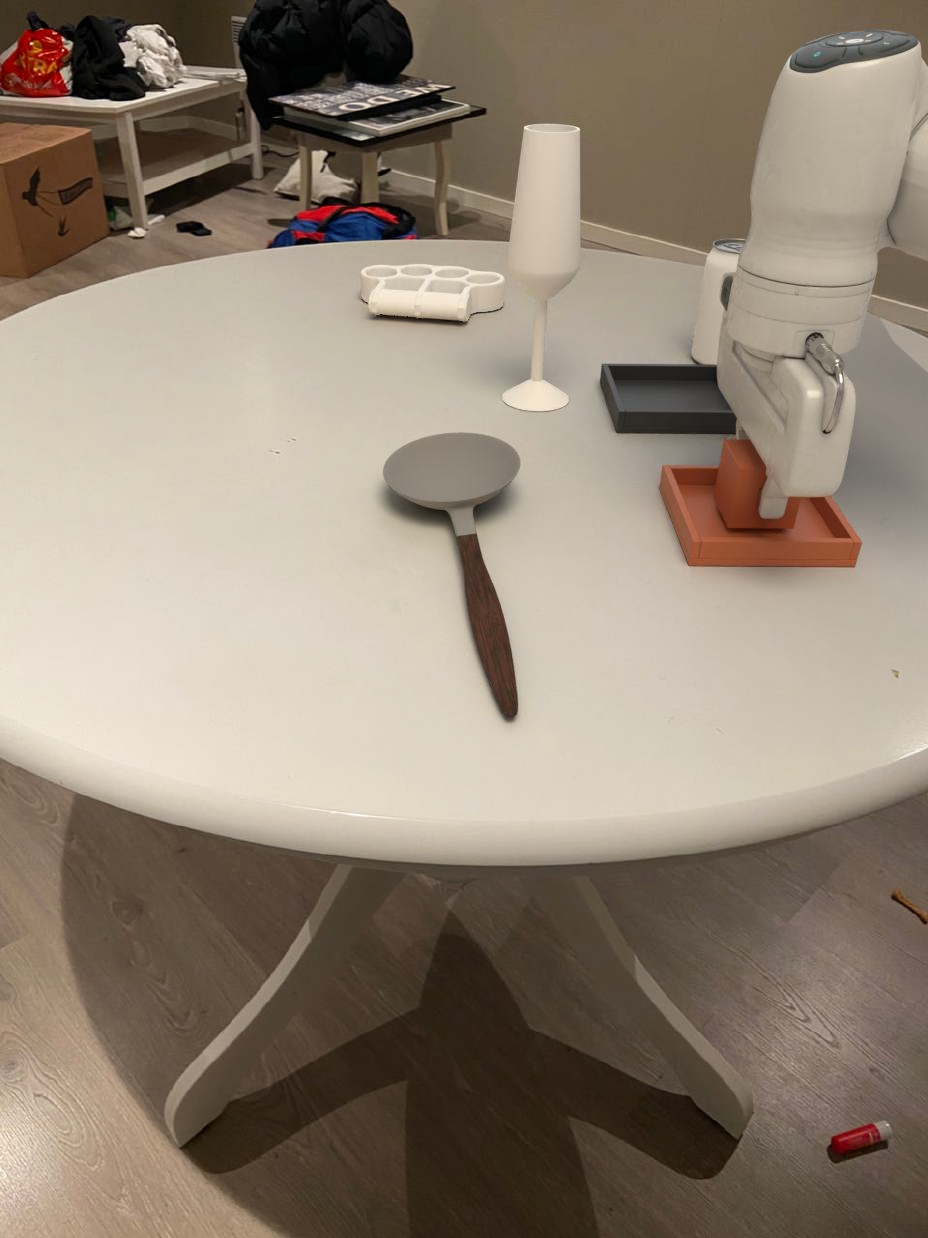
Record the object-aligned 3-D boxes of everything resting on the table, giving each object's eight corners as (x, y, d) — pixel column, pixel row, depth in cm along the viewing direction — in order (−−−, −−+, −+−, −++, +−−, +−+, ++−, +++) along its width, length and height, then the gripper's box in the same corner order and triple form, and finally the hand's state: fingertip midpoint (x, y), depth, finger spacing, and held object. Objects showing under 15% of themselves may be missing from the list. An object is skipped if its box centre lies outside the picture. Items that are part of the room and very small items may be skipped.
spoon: (509, 456, 82) (507, 425, 80) (604, 724, 56) (605, 686, 54) (383, 472, 81) (378, 441, 79) (420, 751, 55) (415, 714, 54)
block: (775, 497, 76) (788, 439, 73) (793, 529, 72) (808, 468, 69) (712, 497, 76) (723, 438, 73) (727, 528, 72) (739, 468, 69)
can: (714, 374, 100) (734, 256, 93) (678, 354, 105) (695, 240, 98) (763, 366, 103) (787, 250, 96) (726, 346, 107) (746, 234, 100)
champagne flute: (574, 410, 92) (598, 134, 78) (505, 411, 92) (516, 134, 78) (563, 384, 97) (584, 122, 84) (498, 385, 97) (508, 121, 83)
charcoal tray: (717, 384, 98) (721, 364, 97) (747, 433, 88) (752, 412, 87) (599, 382, 98) (601, 363, 97) (616, 432, 88) (618, 411, 87)
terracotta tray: (804, 488, 79) (810, 465, 78) (855, 566, 69) (862, 542, 68) (658, 487, 79) (662, 464, 78) (688, 565, 69) (693, 541, 68)
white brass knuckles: (342, 318, 113) (373, 283, 125) (492, 329, 111) (509, 293, 123) (341, 290, 111) (372, 257, 123) (493, 300, 109) (511, 266, 121)
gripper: (901, 368, 56) (843, 566, 64) (798, 270, 73) (762, 438, 81) (795, 367, 56) (750, 565, 64) (716, 269, 73) (688, 437, 81)
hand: (756, 493), depth 73 cm, fingers closed on block, 5 cm apart
